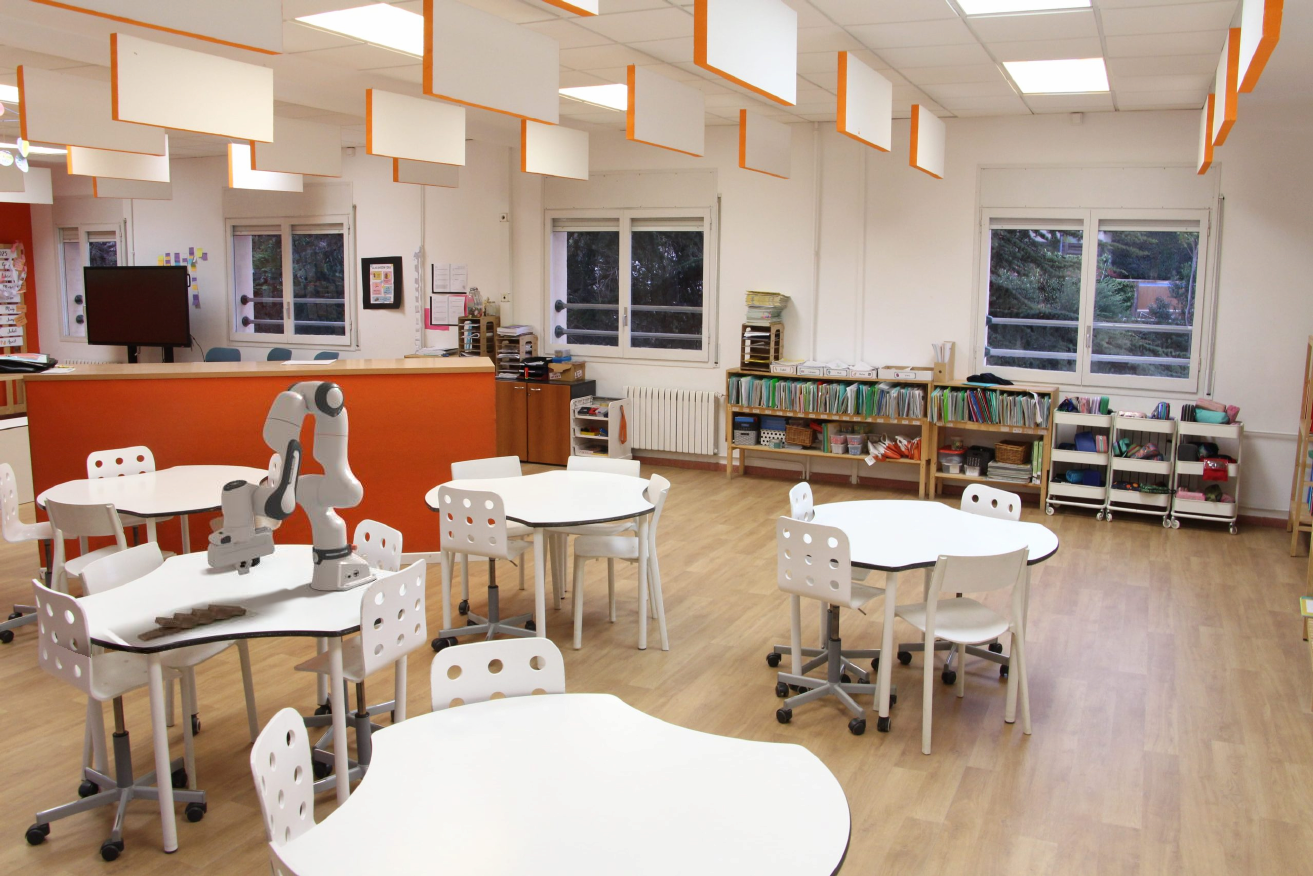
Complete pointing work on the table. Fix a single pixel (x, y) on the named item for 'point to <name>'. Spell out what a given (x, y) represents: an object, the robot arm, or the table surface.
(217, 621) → the domino board
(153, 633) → the end domino
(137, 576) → the table surface
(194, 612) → the domino
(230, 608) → the domino
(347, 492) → the robot arm
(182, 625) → the domino
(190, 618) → the domino
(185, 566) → the table surface
